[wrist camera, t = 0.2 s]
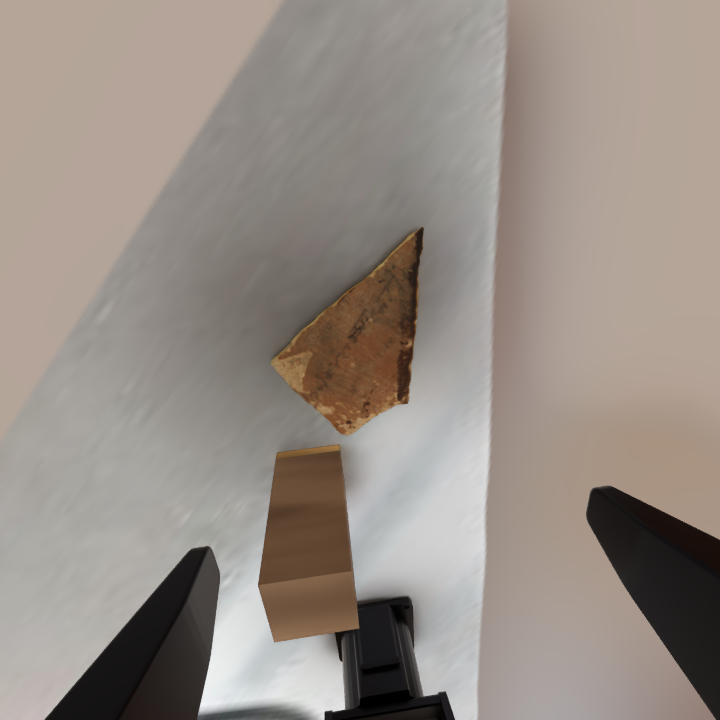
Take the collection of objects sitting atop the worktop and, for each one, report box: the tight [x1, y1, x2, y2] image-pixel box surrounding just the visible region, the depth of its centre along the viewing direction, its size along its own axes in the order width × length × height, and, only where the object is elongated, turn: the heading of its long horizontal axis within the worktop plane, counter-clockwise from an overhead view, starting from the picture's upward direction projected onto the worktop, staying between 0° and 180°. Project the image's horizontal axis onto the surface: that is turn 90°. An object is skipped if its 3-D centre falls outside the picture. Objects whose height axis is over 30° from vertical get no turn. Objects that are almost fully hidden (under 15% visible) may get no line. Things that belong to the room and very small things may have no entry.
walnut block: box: [258, 445, 359, 642], centre depth 21 cm, size 4×4×9 cm
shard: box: [271, 227, 424, 436], centre depth 22 cm, size 11×8×2 cm
